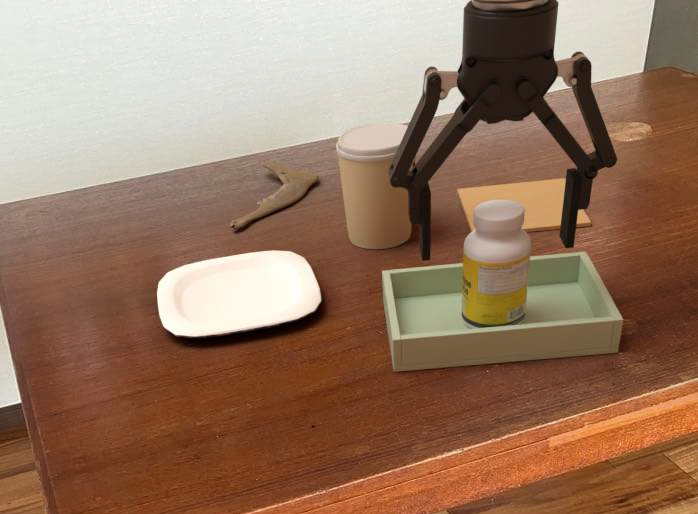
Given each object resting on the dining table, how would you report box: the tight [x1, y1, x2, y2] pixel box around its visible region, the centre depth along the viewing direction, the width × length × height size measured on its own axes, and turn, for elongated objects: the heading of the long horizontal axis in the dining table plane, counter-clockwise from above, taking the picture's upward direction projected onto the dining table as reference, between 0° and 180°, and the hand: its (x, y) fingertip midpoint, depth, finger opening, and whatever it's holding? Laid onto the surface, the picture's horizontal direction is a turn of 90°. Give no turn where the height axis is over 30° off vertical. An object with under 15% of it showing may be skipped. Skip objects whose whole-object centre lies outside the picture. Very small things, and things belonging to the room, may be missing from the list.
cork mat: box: [457, 177, 592, 233], centre depth 111 cm, size 14×14×1 cm
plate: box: [156, 249, 322, 339], centre depth 100 cm, size 18×18×2 cm
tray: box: [381, 251, 624, 373], centre depth 90 cm, size 22×15×4 cm
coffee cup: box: [335, 122, 417, 250], centre depth 106 cm, size 9×9×12 cm
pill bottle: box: [462, 200, 532, 329], centre depth 87 cm, size 6×6×12 cm
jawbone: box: [229, 159, 319, 230], centre depth 120 cm, size 9×20×2 cm, turn 169°
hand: (495, 248), depth 86 cm, fingers open, 13 cm apart
